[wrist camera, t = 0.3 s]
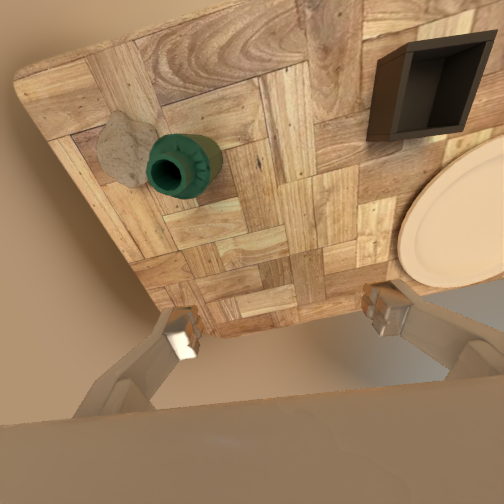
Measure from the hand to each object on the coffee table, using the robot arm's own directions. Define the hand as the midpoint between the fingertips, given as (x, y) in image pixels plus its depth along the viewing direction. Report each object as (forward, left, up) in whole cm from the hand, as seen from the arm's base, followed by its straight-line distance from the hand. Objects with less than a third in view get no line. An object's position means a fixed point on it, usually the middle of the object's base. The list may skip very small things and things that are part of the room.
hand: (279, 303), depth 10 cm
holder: (-9, +21, -26) cm, 35 cm away
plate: (+10, +38, -27) cm, 48 cm away
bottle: (-5, -8, -26) cm, 28 cm away
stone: (-7, -18, -27) cm, 33 cm away
